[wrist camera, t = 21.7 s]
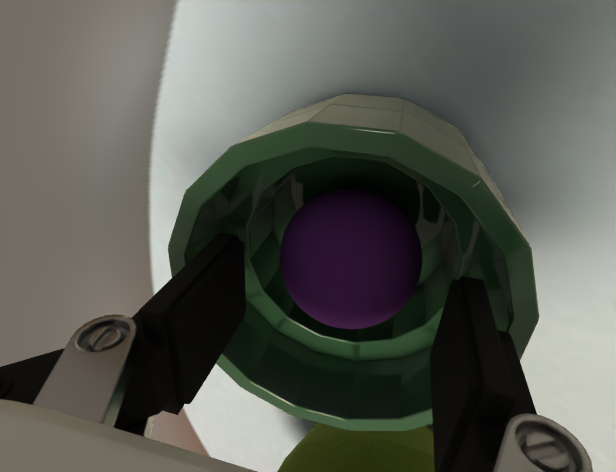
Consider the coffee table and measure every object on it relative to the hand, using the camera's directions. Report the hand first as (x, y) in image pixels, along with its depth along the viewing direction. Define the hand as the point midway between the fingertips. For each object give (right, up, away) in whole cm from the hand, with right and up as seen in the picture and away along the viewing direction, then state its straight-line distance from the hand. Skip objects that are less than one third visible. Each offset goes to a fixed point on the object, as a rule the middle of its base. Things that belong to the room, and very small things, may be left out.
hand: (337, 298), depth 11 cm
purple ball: (+1, +1, +2) cm, 2 cm away
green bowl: (+1, +2, +5) cm, 5 cm away
